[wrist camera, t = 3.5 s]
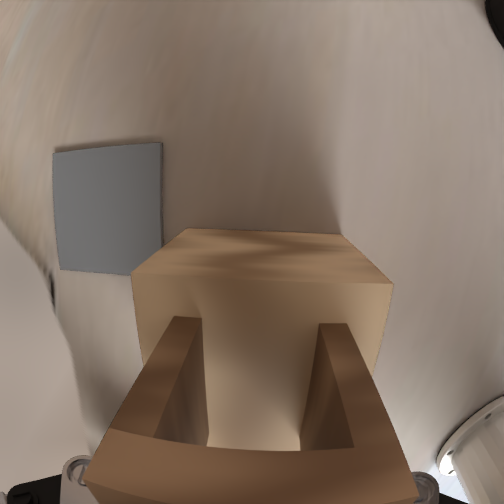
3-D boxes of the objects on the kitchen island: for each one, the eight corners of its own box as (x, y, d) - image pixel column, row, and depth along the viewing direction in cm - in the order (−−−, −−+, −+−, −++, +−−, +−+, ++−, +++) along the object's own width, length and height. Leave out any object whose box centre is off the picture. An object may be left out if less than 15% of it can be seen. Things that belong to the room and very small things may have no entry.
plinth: (341, 234, 17) (393, 283, 10) (324, 364, 20) (345, 453, 12) (186, 228, 18) (130, 272, 10) (192, 358, 20) (161, 444, 12)
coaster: (162, 143, 17) (160, 142, 16) (164, 275, 19) (162, 277, 18) (56, 153, 17) (52, 153, 16) (63, 267, 19) (60, 269, 19)
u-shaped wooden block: (347, 323, 10) (419, 495, 3) (321, 436, 12) (339, 572, 5) (174, 315, 10) (81, 478, 4) (187, 430, 12) (150, 562, 5)
